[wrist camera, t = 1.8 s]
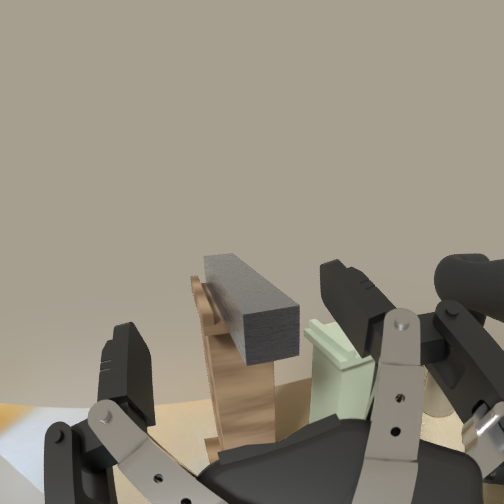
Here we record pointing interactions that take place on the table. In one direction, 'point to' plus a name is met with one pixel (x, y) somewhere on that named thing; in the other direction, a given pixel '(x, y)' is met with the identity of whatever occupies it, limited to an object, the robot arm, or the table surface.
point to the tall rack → (233, 384)
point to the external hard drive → (496, 475)
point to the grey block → (253, 310)
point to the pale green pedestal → (337, 374)
